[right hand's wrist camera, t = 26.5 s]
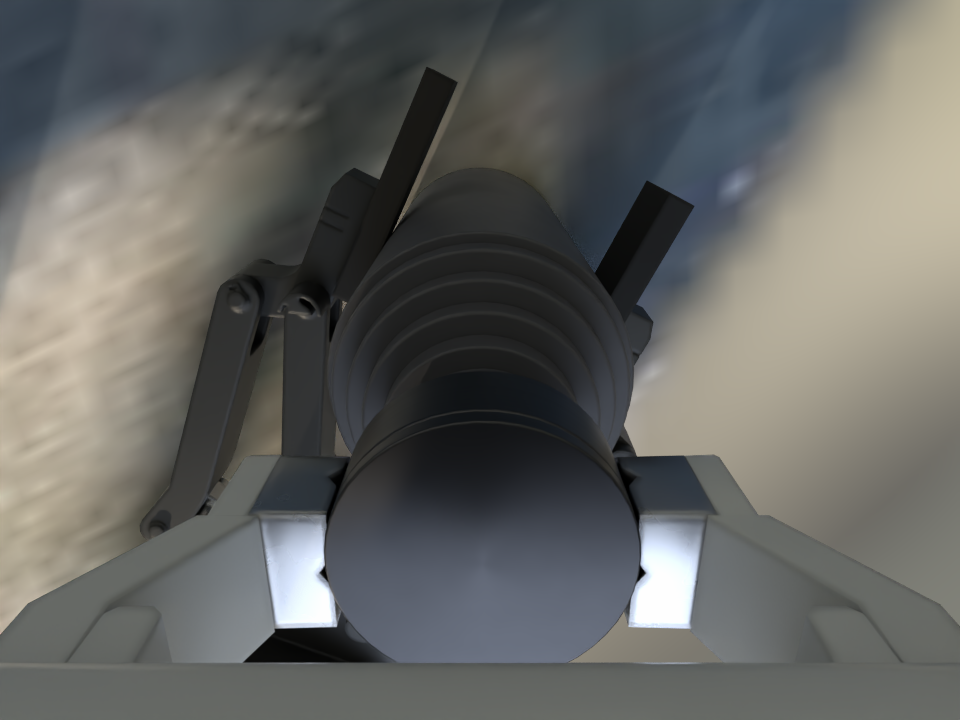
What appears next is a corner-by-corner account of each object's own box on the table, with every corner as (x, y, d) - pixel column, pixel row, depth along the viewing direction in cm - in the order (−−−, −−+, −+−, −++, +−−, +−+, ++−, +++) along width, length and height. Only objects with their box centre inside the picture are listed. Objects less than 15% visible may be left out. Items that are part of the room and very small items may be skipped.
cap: (315, 394, 9) (284, 449, 8) (602, 347, 9) (625, 396, 8) (381, 618, 11) (365, 702, 9) (630, 584, 10) (654, 663, 9)
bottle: (366, 219, 25) (152, 446, 9) (513, 135, 24) (593, 210, 8) (448, 356, 27) (403, 754, 11) (588, 284, 26) (779, 600, 10)
